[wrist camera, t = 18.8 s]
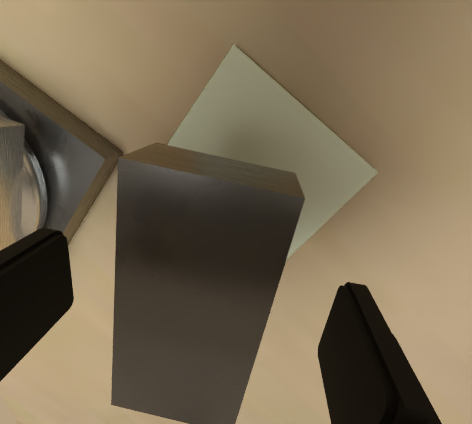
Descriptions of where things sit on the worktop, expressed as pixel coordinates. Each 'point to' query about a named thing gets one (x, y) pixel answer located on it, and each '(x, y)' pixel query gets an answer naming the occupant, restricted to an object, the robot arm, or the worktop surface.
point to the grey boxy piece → (19, 185)
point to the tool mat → (273, 139)
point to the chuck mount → (59, 151)
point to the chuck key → (195, 278)
